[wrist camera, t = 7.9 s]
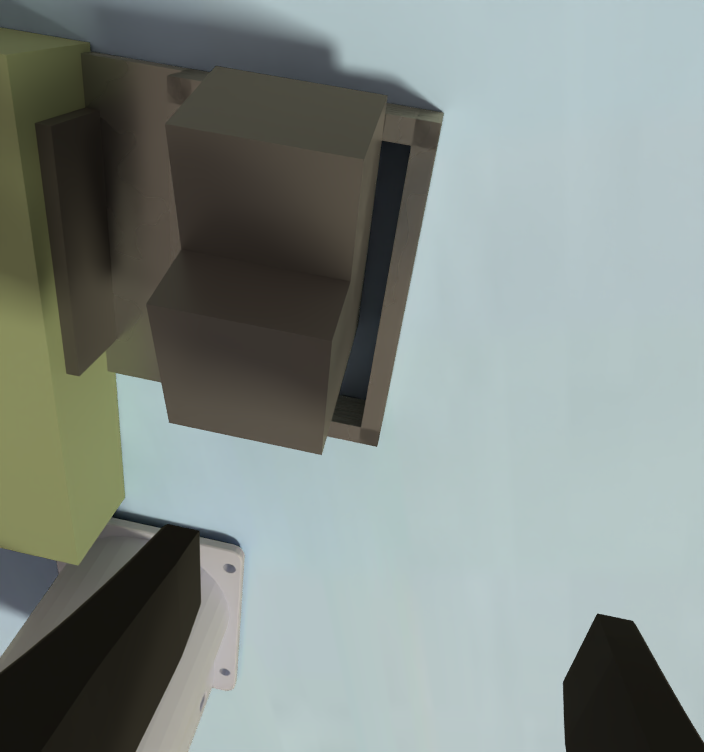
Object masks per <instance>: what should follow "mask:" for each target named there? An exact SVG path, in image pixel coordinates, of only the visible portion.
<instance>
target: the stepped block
mask: <svg viewBox="0 0 704 752" xmlns="http://www.w3.org/2000/svg"><path fill="white" fill-rule="evenodd" d="M386 104H387V95H382V94H376V93H370V92H364V91H358V90H353V89H347V88H341V87H335V86H329V85H324V84H318V83H312V82H306V81H300V80H295V79H289V78H283V77H277V76H271V75H266V74H260V73H254V72H248V71H242V70H237V69H231V68H225V67H219V66H215V67H214V69H213V70H212V71H211V72H210V73H209V74H208V75H207V76H206V78H205V79H204V80H203V81H202V82H201V83H200V84H199V86H198V87H197V88H196V89H195V90H194V91H193V92H192V94H191V95H190V96H189V97H188V98H187V99H186V100H185V101H184V103H183V104H182V105H181V106H180V107H179V108H178V109H177V111H176V112H175V113H174V114H173V115H172V116H171V117H170V119H169V120H168V121H167V122H166V123H165V129H166V137H167V144H168V152H169V159H170V167H171V175H172V182H173V190H174V197H175V205H176V213H177V220H178V228H179V235H180V243H181V250H180V252H179V254H178V255H177V257H176V258H175V260H174V261H173V263H172V264H171V266H170V268H169V269H168V271H167V272H166V274H165V275H164V277H163V278H162V280H161V281H160V283H159V285H158V286H157V288H156V289H155V291H154V292H153V294H152V295H151V297H150V299H149V300H148V302H147V303H146V307H147V312H148V317H149V322H150V327H151V332H152V337H153V342H154V347H155V353H156V358H157V363H158V368H159V373H160V378H161V383H162V388H163V393H164V398H165V404H166V409H167V414H168V419H169V423H173V424H178V425H183V426H187V427H192V428H197V429H202V430H206V431H211V432H216V433H221V434H225V435H230V436H235V437H239V438H244V439H249V440H254V441H258V442H263V443H268V444H273V445H277V446H282V447H287V448H292V449H296V450H301V451H306V452H310V453H315V454H320V455H322V452H323V449H324V445H325V441H326V438H327V434H328V431H329V427H330V423H331V420H332V416H333V413H334V409H335V406H336V402H337V398H338V395H339V391H340V388H341V384H342V380H343V377H344V373H345V370H346V366H347V362H348V359H349V355H350V352H351V348H352V345H353V341H354V337H355V334H356V330H357V327H358V321H359V313H360V306H361V298H362V290H363V282H364V275H365V267H366V259H367V251H368V244H369V236H370V228H371V220H372V213H373V205H374V197H375V189H376V182H377V174H378V166H379V158H380V151H381V143H382V135H383V127H384V120H385V112H386Z"/></svg>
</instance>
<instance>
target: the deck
mask: <svg viewBox="0 0 704 752" xmlns="http://www.w3.org/2000/svg"><path fill="white" fill-rule="evenodd" d="M84 52H90V43H88V42H82V41H76V40H71V39H65V38H59V37H53V36H47V35H42V34H36V33H30V32H24V31H18V30H13V29H7V28H1V27H0V548H4V549H8V550H12V551H17V552H21V553H25V554H30V555H34V556H39V557H43V558H47V559H52V560H56V561H60V562H65V563H69V564H74V565H78V566H79V564H80V563H81V561H82V560H83V558H84V557H85V555H86V554H87V552H88V551H89V549H90V548H91V547H92V545H93V544H94V542H95V541H96V539H97V538H98V536H99V535H100V533H101V532H102V530H103V529H104V527H105V526H106V525H107V523H108V522H109V520H110V519H111V517H112V516H113V514H114V513H115V511H116V510H117V508H118V507H119V506H120V504H121V503H122V501H123V500H124V498H125V490H124V477H123V464H122V451H121V438H120V426H119V413H118V400H117V387H116V374H115V373H114V372H109V371H108V370H107V358H106V350H107V349H108V348H109V347H110V346H111V345H112V344H113V343H114V342H115V341H116V340H117V339H116V325H115V312H114V298H113V285H112V271H111V258H110V244H109V231H108V217H107V203H106V190H105V176H104V163H103V149H102V136H101V122H100V110H96V109H91V108H85V99H84V88H83V76H82V64H81V53H84Z"/></svg>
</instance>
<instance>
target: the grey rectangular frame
mask: <svg viewBox="0 0 704 752" xmlns="http://www.w3.org/2000/svg"><path fill="white" fill-rule="evenodd" d="M81 64H82V76H83V88H84V99H85V108H91V109H96V110H100V122H101V136H102V149H103V163H104V176H105V190H106V203H107V217H108V231H109V244H110V258H111V271H112V285H113V298H114V312H115V325H116V339H117V340H116V341H115V342H114V343H113V344H112V345H111V346H110V347H109V348H108V349H107V350H106V358H107V370H108V371H109V372H114V373H118V374H123V375H128V376H133V377H138V378H143V379H147V380H152V381H157V382H161V378H160V373H159V368H158V363H157V358H156V353H155V347H154V342H153V337H152V332H151V327H150V322H149V317H148V312H147V307H146V303H147V302H148V300H149V299H150V297H151V295H152V294H153V292H154V291H155V289H156V288H157V286H158V285H159V283H160V281H161V280H162V278H163V277H164V275H165V274H166V272H167V271H168V269H169V268H170V266H171V264H172V263H173V261H174V260H175V258H176V257H177V255H178V254H179V252H180V250H181V243H180V235H179V228H178V220H177V213H176V205H175V197H174V190H173V182H172V175H171V167H170V159H169V152H168V144H167V137H166V129H165V123H166V122H167V121H168V120H169V119H170V117H171V116H172V115H173V114H174V113H175V112H176V111H177V109H178V108H179V107H180V106H181V105H182V104H183V103H184V101H185V100H186V99H187V98H188V97H189V96H190V95H191V94H192V92H193V91H194V90H195V89H196V88H197V87H198V86H199V84H200V83H201V82H202V81H203V80H204V79H205V78H206V76H207V75H208V74H209V73H210V72H207V71H201V70H195V69H189V68H183V67H178V66H172V65H166V64H160V63H155V62H149V61H143V60H137V59H132V58H126V57H120V56H114V55H108V54H103V53H97V52H91V51H90V52H84V53H81ZM443 116H444V113H443V112H437V111H431V110H426V109H420V108H414V107H408V106H403V105H397V104H391V103H387V104H386V112H385V120H384V127H383V135H382V141H388V142H393V143H399V144H405V145H410V146H411V150H410V156H409V161H408V167H407V172H406V178H405V184H404V189H403V195H402V200H401V206H400V212H399V217H398V223H397V228H396V234H395V240H394V245H393V251H392V256H391V262H390V268H389V273H388V279H387V285H386V290H385V296H384V301H383V307H382V313H381V318H380V324H379V329H378V335H377V341H376V346H375V352H374V357H373V363H372V369H371V374H370V380H369V386H368V391H367V397H366V400H362V399H357V398H352V397H347V396H342V395H338V398H337V402H336V406H335V409H334V413H333V416H332V420H331V423H330V427H329V431H328V434H327V436H328V437H333V438H338V439H343V440H348V441H352V442H357V443H362V444H367V445H371V446H376V447H377V445H378V440H379V436H380V431H381V426H382V421H383V416H384V411H385V406H386V401H387V396H388V391H389V386H390V381H391V376H392V371H393V366H394V361H395V356H396V351H397V346H398V341H399V336H400V331H401V326H402V321H403V316H404V311H405V306H406V301H407V296H408V291H409V286H410V281H411V276H412V271H413V266H414V261H415V256H416V251H417V246H418V241H419V236H420V231H421V226H422V221H423V216H424V211H425V206H426V201H427V196H428V191H429V186H430V181H431V176H432V171H433V166H434V161H435V156H436V151H437V146H438V141H439V136H440V131H441V126H442V121H443Z"/></svg>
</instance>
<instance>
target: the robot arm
mask: <svg viewBox="0 0 704 752" xmlns="http://www.w3.org/2000/svg"><path fill="white" fill-rule="evenodd" d="M244 560H245V555H244V552H243V550H242V549H241V548H240V547H238V546H236V545H234V544H229V543H225V542H220V541H216V540H211V539H207V538H202V537H200V532H199V530H194V529H189V528H184V527H180V526H175V525H170V524H167V525H165V526H163V527H162V528H157V527H153V526H148V525H144V524H139V523H135V522H130V521H126V520H122V519H117V518H113V517H111V519H110V520H109V522H108V523H107V525H106V526H105V527H104V529H103V530H102V532H101V533H100V535H99V536H98V538H97V539H96V541H95V542H94V544H93V545H92V547H91V548H90V549H89V551H88V552H87V554H86V555H85V557H84V558H83V560H82V561H81V563H80V564H79V566H78V565H74V564H69V563H65V562H60V561H57V567H58V573H59V575H58V577H57V578H56V579H55V581H54V582H53V584H52V585H51V587H50V588H49V589H48V591H47V592H46V594H45V595H44V596H43V598H42V599H41V601H40V602H39V604H38V605H37V606H36V608H35V609H34V611H33V612H32V613H31V615H30V616H29V618H28V619H27V621H26V622H25V623H24V625H23V626H22V628H21V629H20V630H19V632H18V633H17V635H16V636H15V638H14V639H13V640H12V642H11V643H10V645H9V646H8V647H7V649H6V650H5V652H4V653H3V655H2V656H1V657H0V752H188V751H189V748H190V745H191V743H192V740H193V737H194V735H195V732H196V729H197V727H198V724H199V721H200V719H201V716H202V713H203V710H204V708H205V705H206V702H207V700H208V697H209V694H210V692H211V689H212V688H216V689H220V690H225V691H229V690H232V689H234V687H235V684H236V681H237V670H238V654H239V638H240V623H241V607H242V591H243V576H244ZM230 564H231V565H230ZM563 700H564V729H565V746H566V752H704V742H703V741H702V739H701V737H700V736H699V734H698V733H697V731H696V729H695V728H694V726H693V724H692V723H691V721H690V719H689V718H688V716H687V714H686V713H685V711H684V709H683V707H682V706H681V704H680V702H679V701H678V699H677V697H676V695H675V694H674V692H673V690H672V688H671V687H670V685H669V683H668V681H667V680H666V678H665V676H664V674H663V673H662V671H661V669H660V667H659V666H658V664H657V662H656V660H655V658H654V657H653V655H652V653H651V651H650V649H649V648H648V646H647V644H646V642H645V640H644V639H643V637H642V635H641V633H640V632H639V630H638V628H637V626H636V625H635V623H634V622H633V621H631V620H626V619H621V618H616V617H612V616H607V615H602V614H597V615H596V617H595V619H594V621H593V623H592V625H591V627H590V629H589V631H588V633H587V635H586V637H585V639H584V641H583V643H582V645H581V647H580V649H579V651H578V653H577V655H576V657H575V659H574V661H573V663H572V665H571V667H570V669H569V671H568V673H567V675H566V677H565V679H564V681H563Z"/></svg>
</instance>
